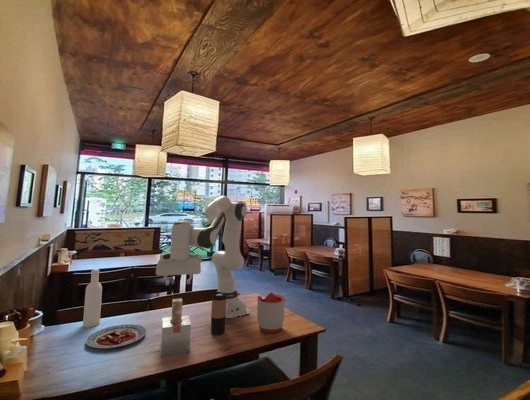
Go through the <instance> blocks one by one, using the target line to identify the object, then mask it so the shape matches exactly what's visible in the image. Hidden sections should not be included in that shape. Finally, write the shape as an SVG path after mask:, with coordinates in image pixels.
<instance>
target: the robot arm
mask: <svg viewBox="0 0 530 400" xmlns="http://www.w3.org/2000/svg"><path fill="white" fill-rule="evenodd" d="M204 212H205V216H206V219H207V220H208V221H209V222H210V223H211V224H210V226H209V227H207V226H206V227H195V226H193V225H192V224H191V223H190V221H189V220H183V219H182V220H176V221H174V222H173V224H172V228H171V231H170V232H171V233H170V242H171V245H170V249H169V251H166V252H162V253H160V255H159V259H158V261H157V264H156V268H155V275H156V277H159V276H163V279H164V281H165V286H169V285H170V280H168V279H167V278H168V276H180V275H181V276H183V275H185V276H187V275H189V278H188V279H186V285H190V284H191V280H192V279H193V277H194V275H199V274H201V272H202V266H201V263H202V261H203V257H202V255H199V254H198V253H195V254H193V253H192V254H190V251H191V250H190V247H195V248H203V249H210V248H212V247H214V245H215V244H216V242H217V239H218V236H219V234H220V232H221V230H222V228H223V227H224V228H223V229H224V230H223V234H222V238H221V241H222V243H223V245H224V250H217V251H215V252H214V253H212V256H211V263H212V264H213V266H214V268H215V271H216V276H217V290H216V292H221V293H226V319H227V318H230V319H234V318H233V317H235V318H238V317H237V316H240V317H242V316H241V315H245V314H249V313H250V309H249V308H247V305H246V302H245V301H244V300H243V298H242V299H241V297H239V296H240V295H241V292H239V291H238V290H236V278H235V276H234V274H233V271H239V270H242V268H243V266H244V263H245V260H244V256H243V255H242V253H241V249H240V238H241V231H242V220H243V219H244V218H245V217H246V215H247V206H246V204H245V203H243V202H238V201H232V200H231V199H230V198H229V197H228V196H227V195H219V196H218V197H217V198H215V199H213V200H212V201H211V202H210V203H209V204H208V205H207V207H206V208H205V211H204ZM250 314H251V313H250ZM250 314H249V315H250ZM245 316H246V315H245Z"/></svg>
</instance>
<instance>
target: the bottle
mask: <svg viewBox="0 0 530 400" xmlns="http://www.w3.org/2000/svg"><path fill="white" fill-rule="evenodd" d="M90 274H91V275H90V283H89V284H87V285H86V287H85V295H84V304H83V305H84V307H83V320H82V327H83V328H88V329H89V328H94V327H97V326H99V325H100V323H101V311H102V310H101V309H102V298H103V297H102V295H103V294H102V293H103V286H102V284H101V283H100V282H99V277H100V276H99V275H100V269H98V268H94V269H91V272H90Z"/></svg>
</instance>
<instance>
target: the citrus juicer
mask: <svg viewBox="0 0 530 400" xmlns="http://www.w3.org/2000/svg"><path fill="white" fill-rule="evenodd" d="M256 300H257V304H256V305H257V308H256V309H257V311H256V312H257V314H256V315H257V323H258V327H259V330H260V331H261V332H263V333H266V332H268V333H267V334H275V333H274V332H276V333H278V331H279V332H280V331H281V330H282V328H283V325H284V321H285V306H286V305H285V303H286V302H285V301H286V298H285V297H284V296H283V295H281V294H275V293H273V292H272V291H270V292H269V293H268V294H267V295H266V297H265V298H263V297H262V296H261V295H258V296H257V298H256Z"/></svg>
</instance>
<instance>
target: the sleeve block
mask: <svg viewBox="0 0 530 400" xmlns="http://www.w3.org/2000/svg"><path fill="white" fill-rule="evenodd" d="M171 318H172V316H168V317H167V316H166V317H162V319H161V322H162V324H161V340H160V341H161V343H160V357H165V356H171V355H178V354H183V353H190V352H191V350H190V348H191V332H192V330H191V329H192V323H191V320H190V319H191V318H190V316H189V314H187V315H182V318H181V323H172V324H171Z"/></svg>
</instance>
